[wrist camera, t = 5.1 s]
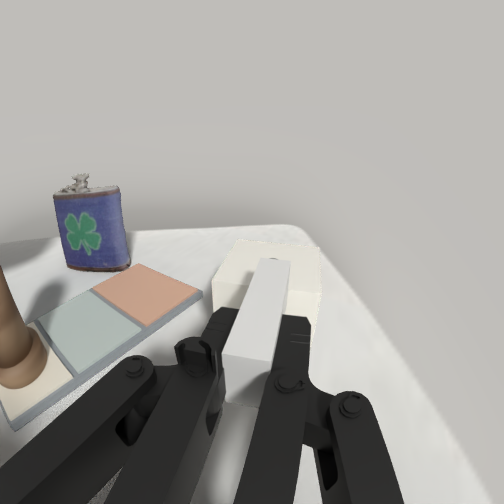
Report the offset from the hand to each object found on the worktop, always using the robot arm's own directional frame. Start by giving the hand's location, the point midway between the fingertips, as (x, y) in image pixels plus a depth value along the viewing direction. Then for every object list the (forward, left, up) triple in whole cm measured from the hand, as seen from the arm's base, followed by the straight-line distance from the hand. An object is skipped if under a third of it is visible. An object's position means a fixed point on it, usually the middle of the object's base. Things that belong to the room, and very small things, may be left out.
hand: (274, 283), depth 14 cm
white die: (-2, +3, -7) cm, 7 cm away
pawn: (-13, -12, -6) cm, 19 cm away
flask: (-23, +1, -7) cm, 24 cm away
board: (-13, -6, -6) cm, 16 cm away
